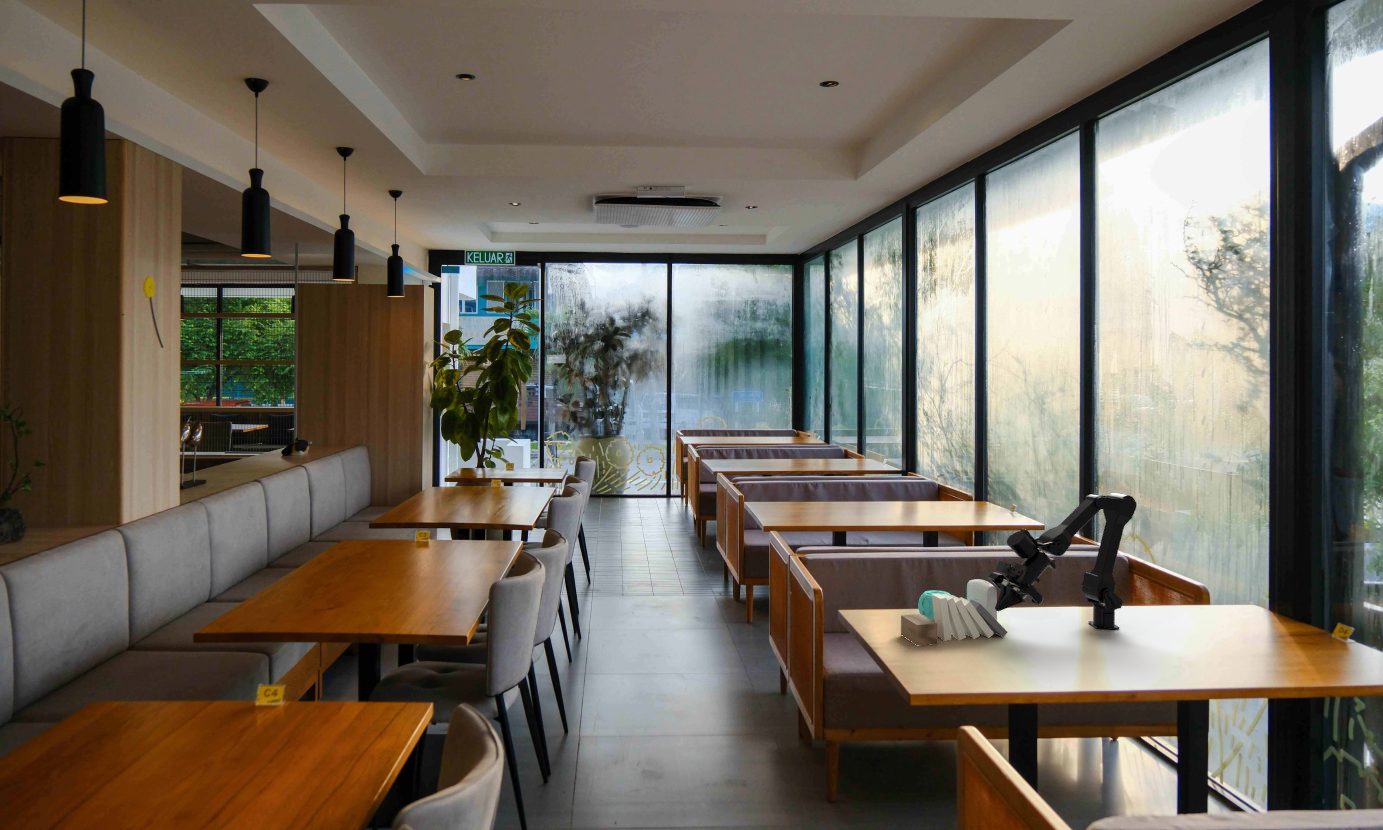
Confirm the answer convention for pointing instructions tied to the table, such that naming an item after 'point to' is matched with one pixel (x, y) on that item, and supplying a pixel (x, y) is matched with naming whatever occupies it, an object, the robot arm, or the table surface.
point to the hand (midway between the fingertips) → (996, 610)
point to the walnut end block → (919, 629)
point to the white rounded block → (983, 595)
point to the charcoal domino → (989, 619)
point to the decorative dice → (928, 603)
